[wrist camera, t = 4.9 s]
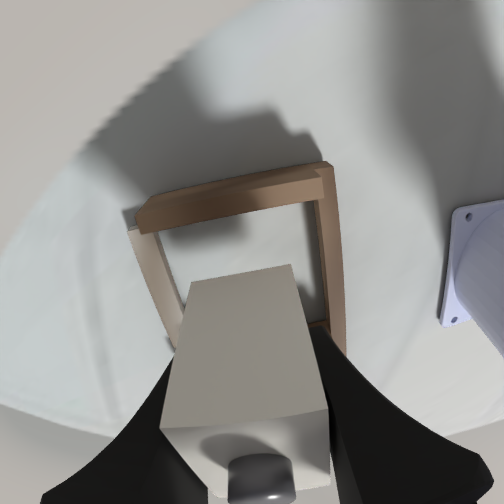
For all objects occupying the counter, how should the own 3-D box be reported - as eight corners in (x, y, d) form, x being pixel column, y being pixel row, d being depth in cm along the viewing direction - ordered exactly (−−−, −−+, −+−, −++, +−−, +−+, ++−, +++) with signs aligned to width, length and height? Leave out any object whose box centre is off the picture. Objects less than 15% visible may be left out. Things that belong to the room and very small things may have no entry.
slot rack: (326, 160, 13) (342, 173, 11) (341, 411, 21) (349, 438, 19) (123, 203, 14) (103, 223, 12) (219, 430, 22) (218, 458, 20)
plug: (290, 263, 11) (338, 449, 5) (304, 356, 13) (335, 511, 7) (191, 282, 11) (152, 467, 5) (222, 369, 13) (216, 524, 7)
